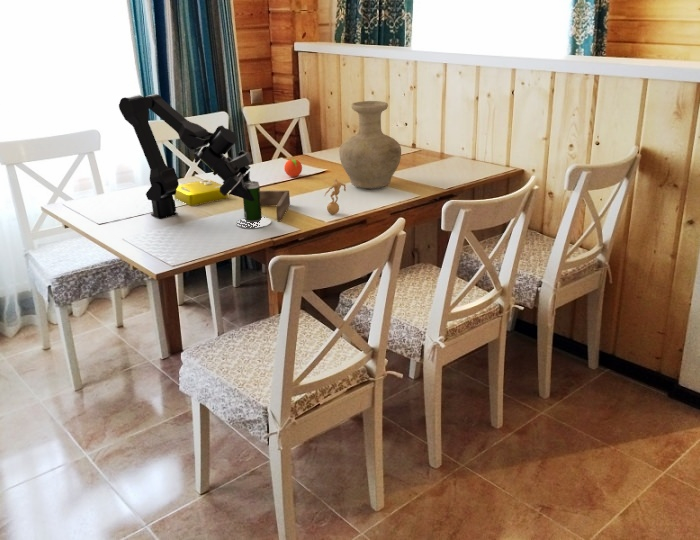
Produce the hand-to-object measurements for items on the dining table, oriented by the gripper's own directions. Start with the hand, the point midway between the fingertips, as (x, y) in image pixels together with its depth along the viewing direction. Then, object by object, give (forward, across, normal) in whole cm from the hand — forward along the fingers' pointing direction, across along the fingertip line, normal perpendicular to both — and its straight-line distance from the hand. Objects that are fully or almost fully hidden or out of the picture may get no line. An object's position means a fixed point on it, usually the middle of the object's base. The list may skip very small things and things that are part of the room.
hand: (255, 197), depth 214 cm
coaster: (+5, 0, +7) cm, 8 cm away
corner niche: (+6, +11, +6) cm, 14 cm away
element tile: (-12, +28, +25) cm, 40 cm away
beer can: (+4, 0, +6) cm, 8 cm away
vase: (+30, +43, -18) cm, 55 cm away
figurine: (+23, +9, -11) cm, 27 cm away
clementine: (+8, +56, +4) cm, 57 cm away
